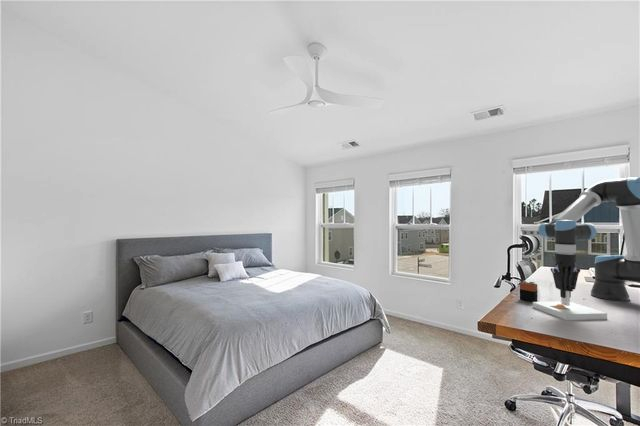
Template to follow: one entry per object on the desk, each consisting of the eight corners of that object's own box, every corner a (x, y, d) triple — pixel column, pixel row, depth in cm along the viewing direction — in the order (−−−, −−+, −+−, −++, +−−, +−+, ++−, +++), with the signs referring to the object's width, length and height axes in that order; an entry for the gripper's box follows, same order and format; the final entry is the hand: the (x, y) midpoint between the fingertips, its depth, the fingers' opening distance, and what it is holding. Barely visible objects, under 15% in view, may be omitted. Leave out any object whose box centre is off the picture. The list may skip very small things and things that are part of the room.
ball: (556, 313, 137) (562, 308, 138) (563, 316, 133) (570, 310, 134) (551, 306, 137) (557, 301, 138) (558, 309, 133) (565, 303, 134)
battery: (534, 302, 152) (534, 283, 152) (519, 299, 157) (519, 280, 157) (537, 301, 154) (537, 282, 154) (522, 298, 160) (522, 279, 160)
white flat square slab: (568, 306, 146) (568, 301, 146) (607, 319, 128) (607, 313, 128) (532, 307, 144) (532, 302, 144) (566, 320, 126) (566, 314, 126)
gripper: (570, 252, 140) (571, 302, 140) (545, 252, 139) (545, 302, 139) (586, 254, 133) (586, 306, 133) (559, 254, 132) (559, 307, 132)
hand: (565, 304), depth 136 cm, fingers closed
